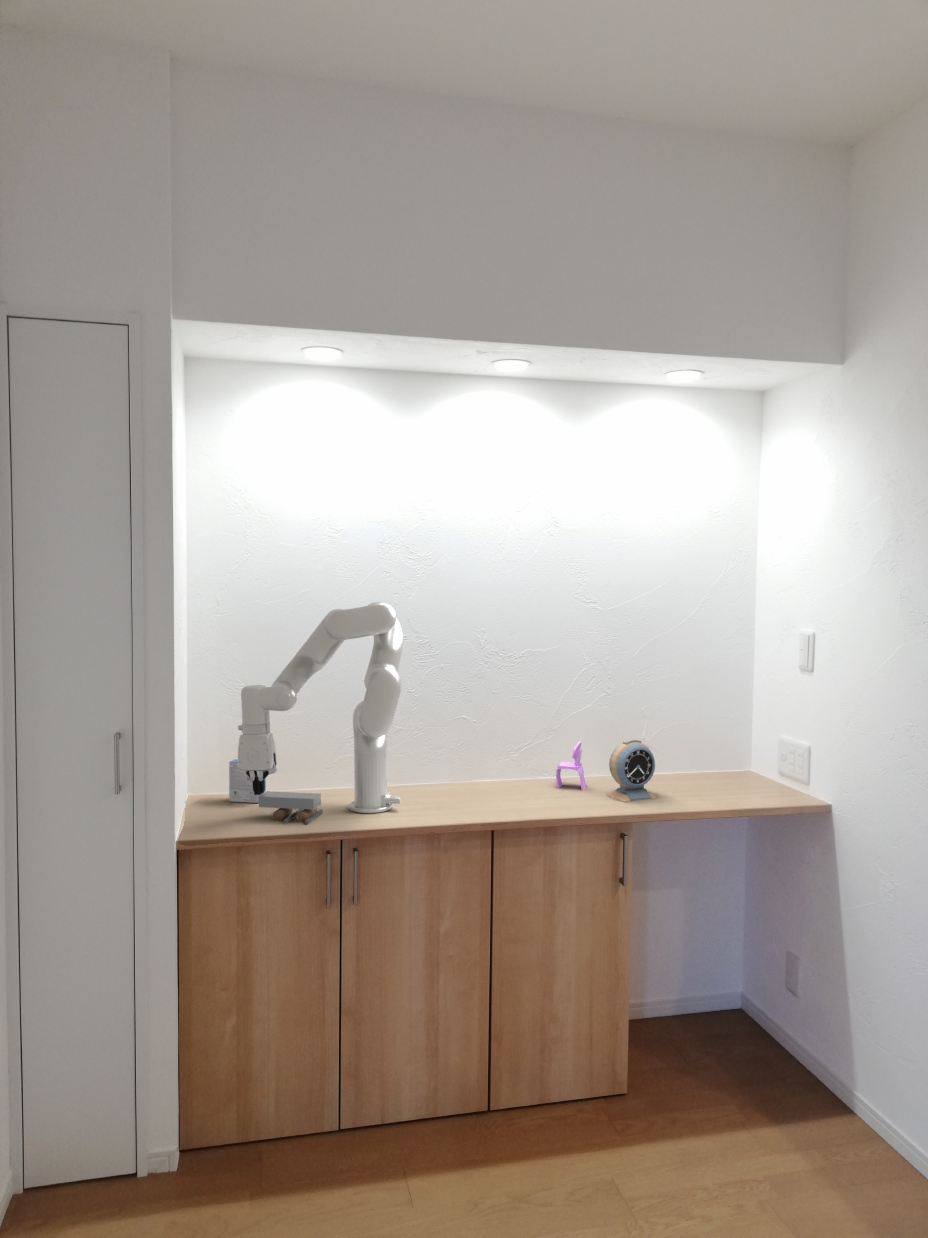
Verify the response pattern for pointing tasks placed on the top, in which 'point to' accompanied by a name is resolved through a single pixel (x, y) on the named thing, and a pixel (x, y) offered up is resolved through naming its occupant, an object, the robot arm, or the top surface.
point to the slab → (290, 800)
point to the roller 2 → (305, 814)
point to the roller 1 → (281, 813)
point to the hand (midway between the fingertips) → (259, 793)
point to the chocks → (305, 820)
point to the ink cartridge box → (241, 785)
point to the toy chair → (572, 767)
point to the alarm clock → (631, 771)
